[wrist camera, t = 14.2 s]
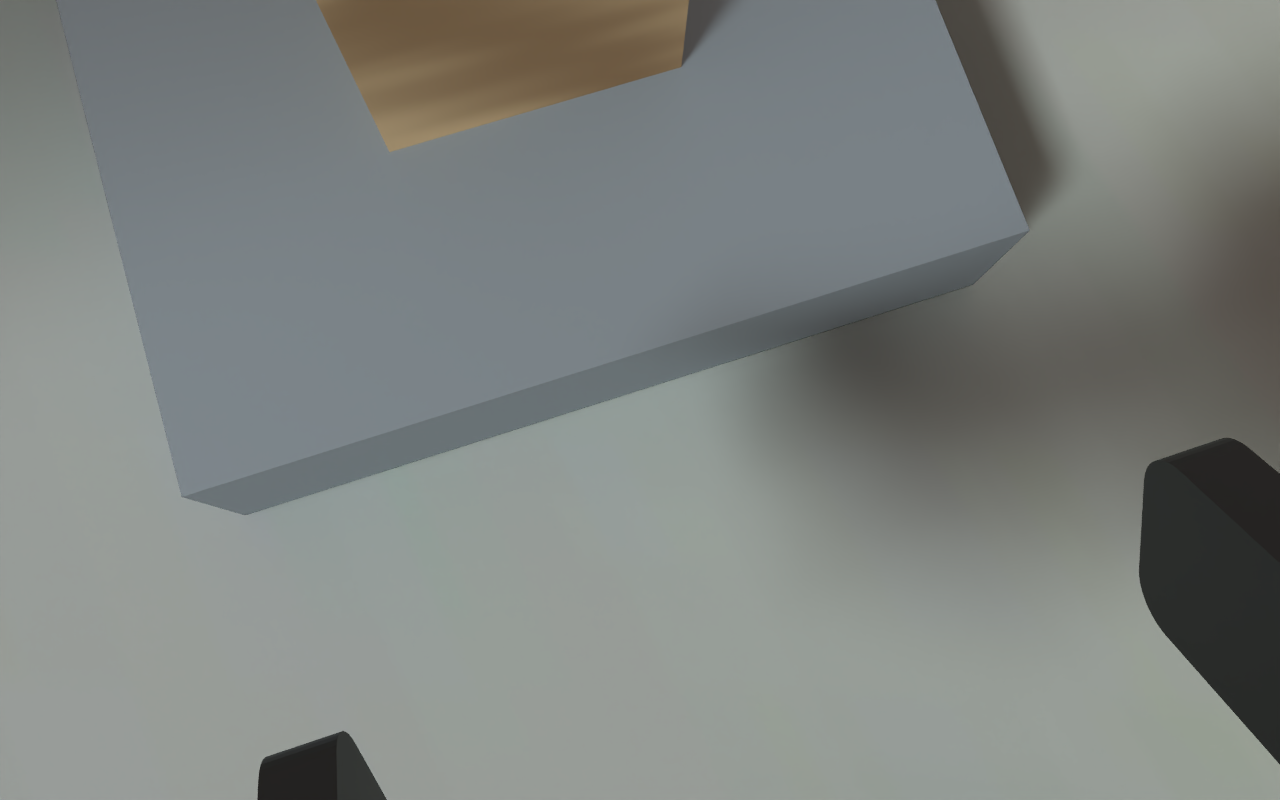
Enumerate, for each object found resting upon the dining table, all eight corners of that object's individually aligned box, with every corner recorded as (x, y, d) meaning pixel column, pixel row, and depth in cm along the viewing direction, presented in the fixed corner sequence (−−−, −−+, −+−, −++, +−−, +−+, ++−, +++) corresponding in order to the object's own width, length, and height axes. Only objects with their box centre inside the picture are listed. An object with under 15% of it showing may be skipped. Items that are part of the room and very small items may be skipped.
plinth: (245, 515, 20) (181, 497, 17) (70, -151, 23) (-11, -266, 20) (973, 284, 21) (1029, 230, 18) (730, -327, 24) (746, -461, 21)
